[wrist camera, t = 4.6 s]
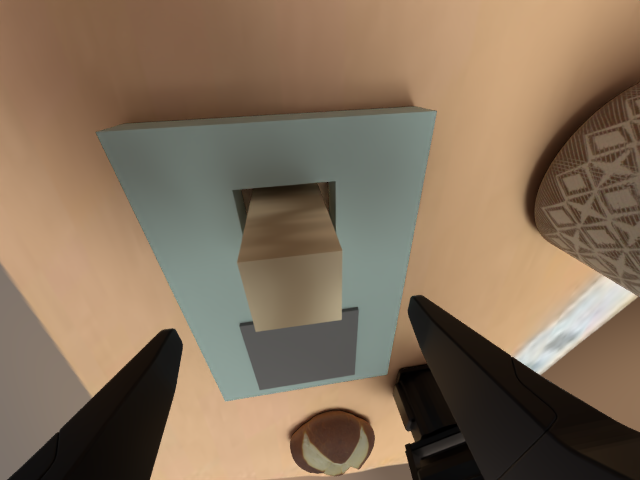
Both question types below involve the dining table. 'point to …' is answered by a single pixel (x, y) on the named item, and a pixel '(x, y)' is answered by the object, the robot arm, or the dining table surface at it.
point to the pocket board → (230, 218)
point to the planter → (598, 193)
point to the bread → (332, 443)
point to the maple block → (290, 258)
